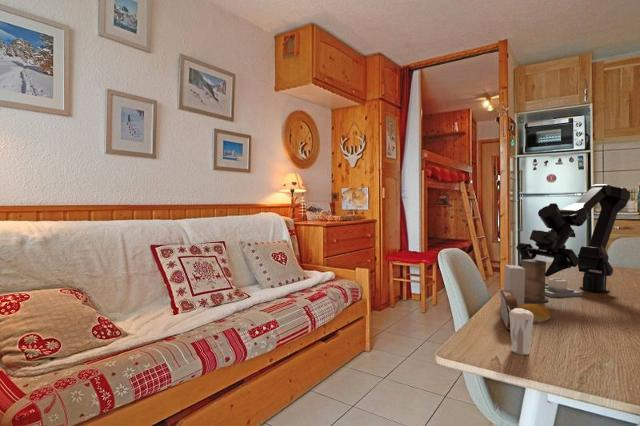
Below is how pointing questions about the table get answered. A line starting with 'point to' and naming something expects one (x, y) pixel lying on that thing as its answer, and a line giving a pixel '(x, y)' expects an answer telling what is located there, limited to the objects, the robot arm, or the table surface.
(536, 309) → the bread roll
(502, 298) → the tin
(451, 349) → the table surface
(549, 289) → the switch board
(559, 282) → the switch tab
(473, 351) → the table surface
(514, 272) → the skincare box
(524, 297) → the coaster
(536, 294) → the handle block
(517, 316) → the milkshake
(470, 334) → the table surface
